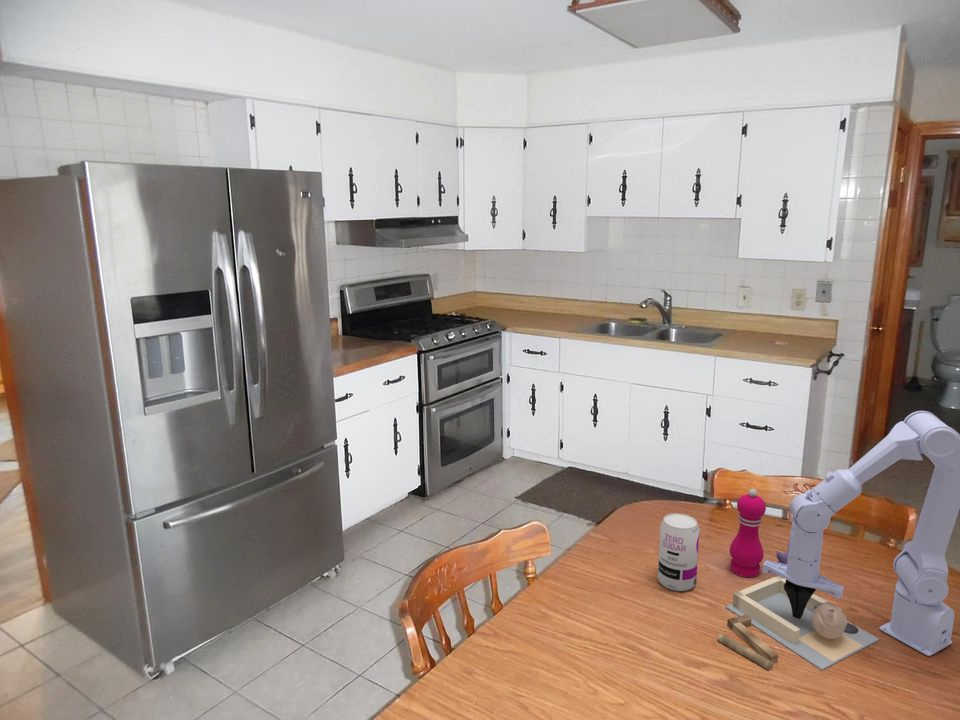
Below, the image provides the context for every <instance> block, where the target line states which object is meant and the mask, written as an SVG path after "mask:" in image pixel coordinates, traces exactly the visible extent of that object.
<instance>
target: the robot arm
mask: <svg viewBox="0 0 960 720" xmlns="http://www.w3.org/2000/svg"><path fill="white" fill-rule="evenodd" d="M923 454H924V456H926V457H927V458H928V459H929V461H931V462H932V464H933V465H934V469H933V472H932V475H931V480H930V482H929V485H928V489H927V492H926V495H925V498H924V502H923V505H922V507H921V511H920V515H919V518H918V522H917V525H916V528H915V531H914V534H913V537H912V540H911V541H909V542H905V544H904V545H903V549H902V551H901V552H900V553H898V555H896V556H895V558H894V560H893V564H892V566H893V570H894V572H895V574H896V575H897V576H898V577H897V582H896V583H895V590H894V595H893V603H892V609H891V615H890V621H889V622H886V623H884V624H883V625H880V626H879V630H880V631H882V632H883V633H885V634H887V635H889V636H891V637H892V638H894V639H896V640H898V641H899V642H902V643H903V644H905V645H907V646H908V647H911V648H913V649H915V650H916V651H918V652H919V653H922V654H924V655H926V656H927V657H931V656H932V655H934V654H936V653H938V652H940V651H941V650H943V649H945V648H946V647H948V646H950V645H952V644H953V641H952V634H953V628H954V621H955V617H956V615H955V611H954V609H953V608H952V607H950V606H948V605H947V604H946V603H944V602H943V601H945V599H946V598H947V596H948V595H949V592H950V591H949V590H950V589H949V585H948V575H949V572H950V571H949V567H948V563H947V559H946V552H947V549H948V545H949V543H950V540H951V537H952V534H953V530H954V527H955V524H956V521H957V518H958V515H959V511H960V433H959V432H957V431H956V430H955V429H954V428H953V427H950V426H948V425H947V424H946V423H945V422H943V421H942V420H940V418H939V417H937V415H935V414H934V413H932V412H930V411H926V410H917V411H914V412H911V413H910V414H908V415H907V416H906V417H905V418H904V420H903V421H902V420H901V421H899V422H897V423H895V425H893V427H892V428H891V430H890V431H889V433H888V434H887V435H886V436H885V437H884V438H883V439H882V440H880V441H879V442H878V443H877V444H876V445H874V446H873V448H872V449H870V450H869V451H868V452H867V453H865V455H863V456H862V457H861V458H860V459H859V460H857V461H856V462H855V463H854V464H853V465H852V466H851V467H849V468H847V469H839V468H838V469H836V470H834V472H832V471H829V472H827V473H826V474H825V475H824V477H825V479H823V480H822V481H820V482H819V483H818V484H816V485H815V486H814V487H812V488H811V489H810V488H809V489H807V490H806V491H805V492H804V493H799V494H797V495H796V496H795V497H793V498H792V500H791V502H790V503H788V507H789V511H790V513H791V515H792V516H793V517H792V519H791V520H792V521H791V528H790V533H789V541H788V542H789V551H788V550H787V552H788V561H787V564H781V563H778V562H774V561H771V560H766V561H764V563H763V564H762V573H764V574H766V575H767V574H772V575H773V576H780V577H782V578H785V579H786V582H785V584H784V590H785V592H786V593H787V596H788V598H789V601H790V604H791V608H792V615H793V617H795V618H797V619H801V617H802V616H803V613H804V610H805V607H806V605H807V603H808V601H809V599H810V598H811V596H812V595H813V594H814V593H815V592H816V591H820V592H822V593H825V594H828V595H831V596H833V597H834V598H835V599H837V600H841V598H842V597H843V595H844V588H845V586H844V585H841V584H839V583H836V582H834V581H833V580H830V579H828V578H827V577H825V576H823V575H821V574H820V568H821V558H822V549H823V540H824V536H823V535H824V530H825V529H828V528H829V525H830V523H831V519H832V517H833V516H834V514H836V513H837V512H838V511H840V510H841V509H842V508H844V507H845V506H846V505H848V504H849V503H851V502H852V501H853V500H855V499H856V498H857V497H859V496H860V495H861V494H862V489H863V484H865V483H866V482H868V481H869V480H870V479H873V478H874V477H876V476H877V475H878V474H880V473H881V472H883V471H884V470H886V469H887V468H889V467H890V466H892V465H894V464H896V462H898V461H900V460H907V461H923V460H924V459H923V457H922V455H923Z"/></svg>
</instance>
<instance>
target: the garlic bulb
mask: <svg viewBox="0 0 960 720" xmlns="http://www.w3.org/2000/svg"><path fill="white" fill-rule="evenodd" d="M839 608H840V607H838V606H836V605H835V604H833V603H831V602H830V601H827V602H824V603H821V604H819V605H816V606H815V607H814V609H813V612H812V616H811V619H812V625H813V627H814V628H815V629H816V630H817V632H818V633H819V635H821V636H822V637H825V638H827V639H834V638H838V637H840V636H841V635H842V633H843V632H844V630H845V628H846V626H847V621H848V620H847V617H846V614H844V612H843V610H842V611H841V610H840V609H841V608H840V609H839Z"/></svg>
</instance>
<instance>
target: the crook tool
mask: <svg viewBox="0 0 960 720" xmlns="http://www.w3.org/2000/svg"><path fill="white" fill-rule="evenodd" d="M751 620H752V619H751V618H750V617H748V616H747V615H743V616H735V617H731V618H728V619H727V627H728V628H729V629H730V630H732V631H733V632H734V633H735V634H736V635H737V636H739V637H740V638H741V639H742V640H743V641H745V643H746V644H747V645H748V646H750V647H751V648H752V650H755V652H756V653H757V654H759V655H761V656H763V657H764V658H766V659H768V660H770V661H771V662H773V664H775V663H778V660H779V654H778V653H776V652H775V650H773V649H772V648H771V647H770V646H769V645H767V644H766V643H765V642H764V641H763V640H762V639H760V637H758V635H756V634H755V633H753V632H752V631H751V630H750V629H749V628H747V627H750V626H752V624H751Z"/></svg>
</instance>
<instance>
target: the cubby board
mask: <svg viewBox="0 0 960 720" xmlns="http://www.w3.org/2000/svg"><path fill="white" fill-rule="evenodd" d="M785 582H786V579H785V578H782V577H780V576H777V575H774V576H773V577H771V578H769V579H767V580H764V581H761V582H758V583H756V584H753V585H751V586H748V587H746V588H744V589H741V590H739V591H736V592H734V593H733V596H732V597H733V600H732V603H731V604H728V605H726V606H725V609H727V610H729V611H730V612H731V613H733V614H734V615H736V616H737V617H739V616H743V615H747V616H748V617H750V618H751V619H752V620H751V626H754V627H755V628H756V629H758V630H760V631H761V632H762V633H764V634H766V635H767V636H768V637H770V638H771V639H773V640H775V641H776V642H778V643H780V644H781V645H782V646H783V647H785V648H787V649H789V650H790V651H792V652H793V653H795V654H796V655H797V656H799V657H801V658H802V659H804V660H806V662H808V663H810V664H811V665H812V666H815V667H816V668H818V669H819V670H821V671H824V670H825V669H828V668H830V667H832V666H833V665H836V664H837V663H839V662H840V661H842V660H843V661H844V659H846V658H848V657H851V656H852V655H854V654H856V653H858V652H860V651H862V650H863V649H865V648H867V647H869V646H871V645H873V644H875V643H877V642H879V641H880V638H878V637H876V636H875V635H873V634H871V633H869V632H868V631H866V630H865V629H862V628H861V627H858V626H857V625H856V624H853V623H851V622H850V621H848V620H847V626H846V628H845V630H844V632H843V633H842V635H841V636H840V637H838V638H834V639H827V638H825V637H822V636H821V635H819V633H818V632H817V630H816V629H815V628H814V627H813V625H812V619H811V616H812V612H813V609H814V607H815V606H816V605H819V604H821V603H824V602H828V601H827V600H825V599H824V598H822V597H820V596H818V595H816V594H814V593H813V595H812V596H811V598H810V599H809V601H808V603H807V605H806V607H805V610H804V613H803V616H802V617H801V619H797V618H795V617H793V615H792V608H791V604H790V601H789V598H788V596H787V593H786V592H785V590H784V584H785ZM838 608H839V609H840V610H841V611H842V612H843V609H841V608H840V607H838Z"/></svg>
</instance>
